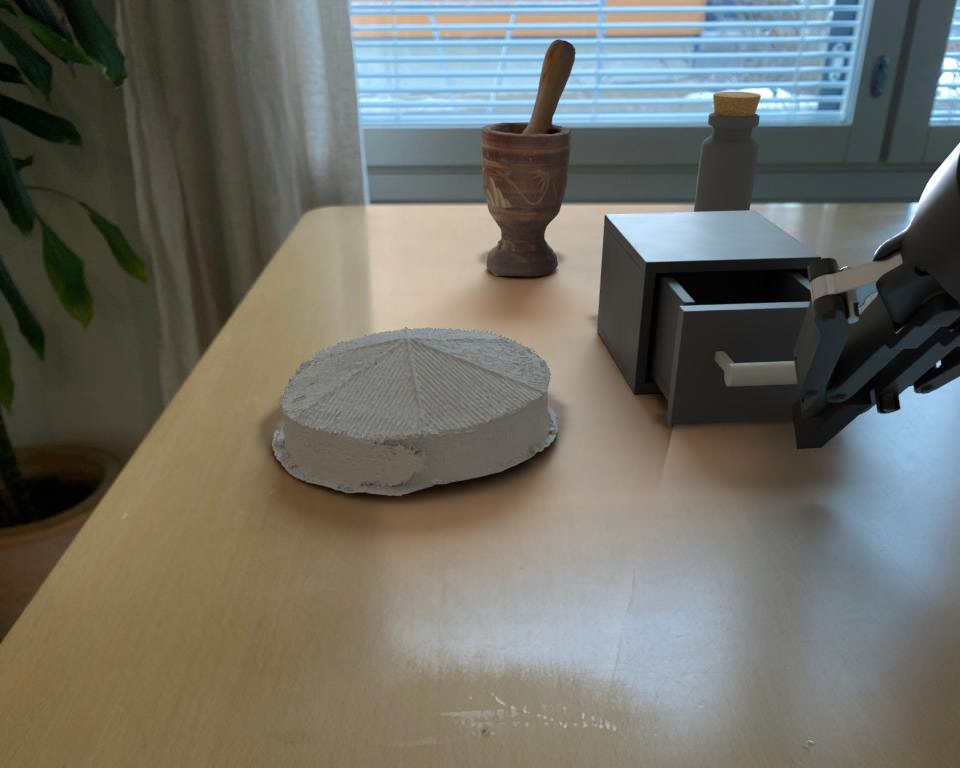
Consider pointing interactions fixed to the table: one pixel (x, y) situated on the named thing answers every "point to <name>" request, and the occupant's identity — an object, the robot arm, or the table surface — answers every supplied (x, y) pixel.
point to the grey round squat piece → (414, 411)
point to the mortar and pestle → (528, 174)
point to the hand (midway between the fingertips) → (806, 426)
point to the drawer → (727, 344)
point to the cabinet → (677, 269)
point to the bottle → (729, 154)
